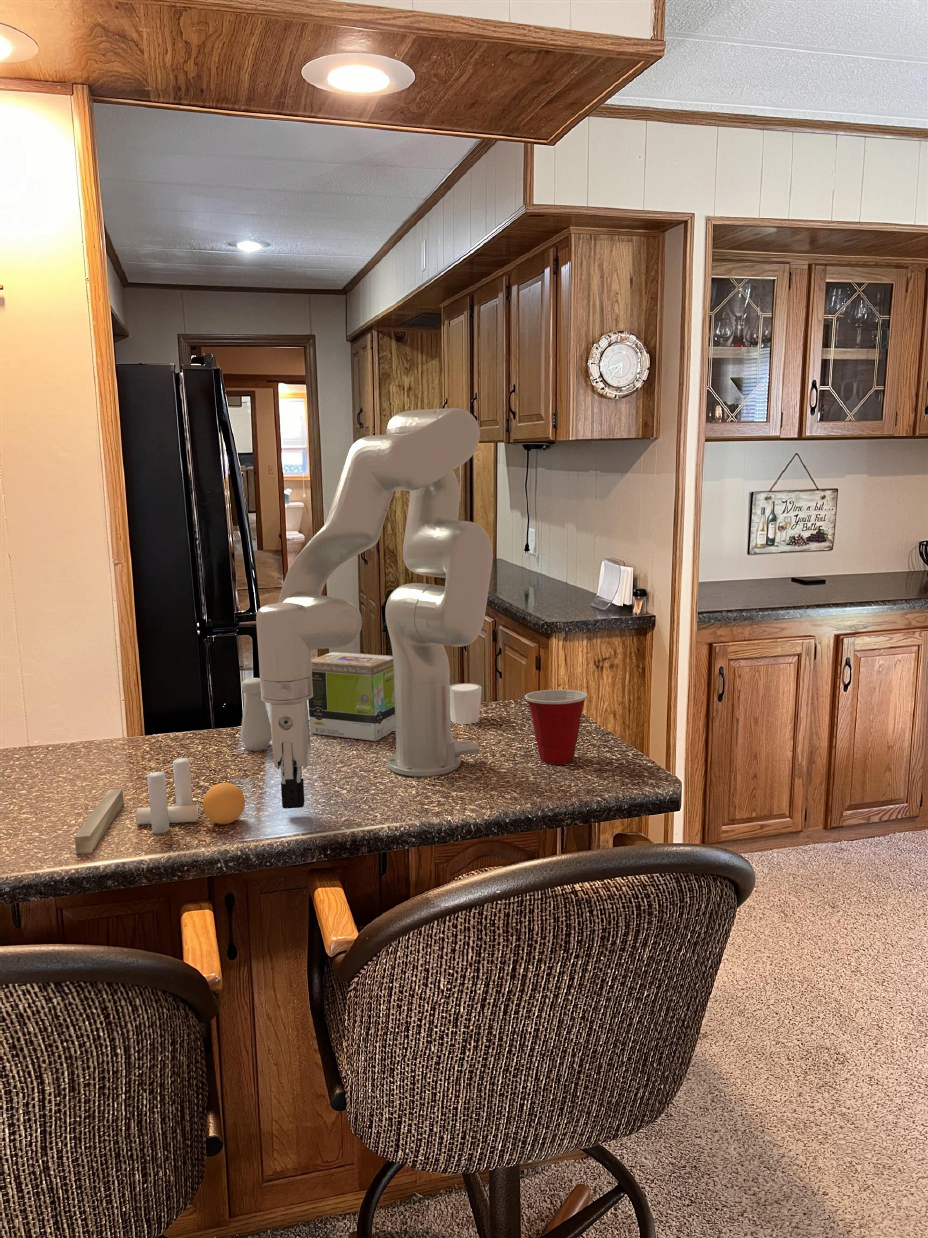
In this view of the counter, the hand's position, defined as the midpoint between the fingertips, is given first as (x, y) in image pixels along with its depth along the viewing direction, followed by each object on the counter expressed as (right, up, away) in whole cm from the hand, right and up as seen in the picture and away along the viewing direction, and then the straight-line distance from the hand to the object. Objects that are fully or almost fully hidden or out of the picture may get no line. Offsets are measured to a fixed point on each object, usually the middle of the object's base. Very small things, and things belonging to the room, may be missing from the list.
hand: (293, 805), depth 138 cm
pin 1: (-19, -3, -4) cm, 19 cm away
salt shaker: (-13, +4, +33) cm, 35 cm away
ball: (-10, +1, -2) cm, 10 cm away
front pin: (-14, -1, -1) cm, 14 cm away
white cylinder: (+26, +7, +47) cm, 54 cm away
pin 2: (-17, -2, +1) cm, 17 cm away
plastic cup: (+42, +3, +23) cm, 48 cm away
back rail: (-28, -3, -3) cm, 28 cm away
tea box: (+4, +6, +41) cm, 42 cm away
